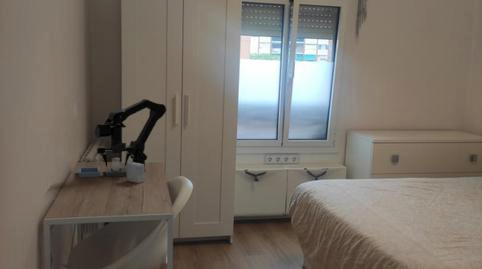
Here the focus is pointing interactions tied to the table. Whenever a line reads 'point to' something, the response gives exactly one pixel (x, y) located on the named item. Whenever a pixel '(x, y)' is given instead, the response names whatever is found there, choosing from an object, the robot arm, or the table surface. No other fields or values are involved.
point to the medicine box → (135, 172)
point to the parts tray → (89, 172)
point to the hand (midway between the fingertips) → (116, 166)
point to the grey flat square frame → (116, 172)
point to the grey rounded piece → (115, 164)
